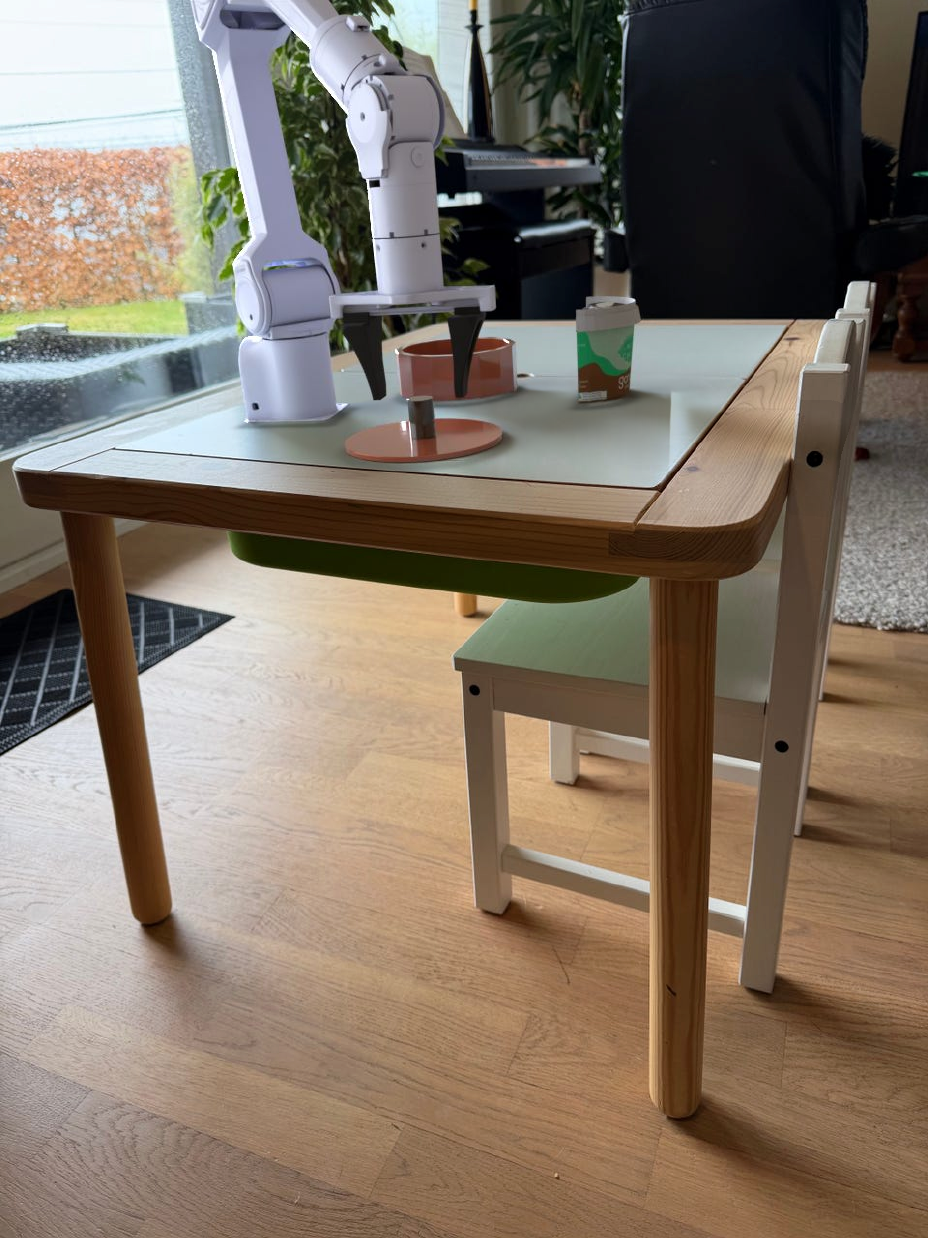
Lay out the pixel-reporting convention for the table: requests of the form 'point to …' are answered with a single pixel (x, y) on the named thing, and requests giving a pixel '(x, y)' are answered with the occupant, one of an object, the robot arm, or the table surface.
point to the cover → (423, 437)
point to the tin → (433, 369)
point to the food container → (605, 347)
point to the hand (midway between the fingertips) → (420, 396)
